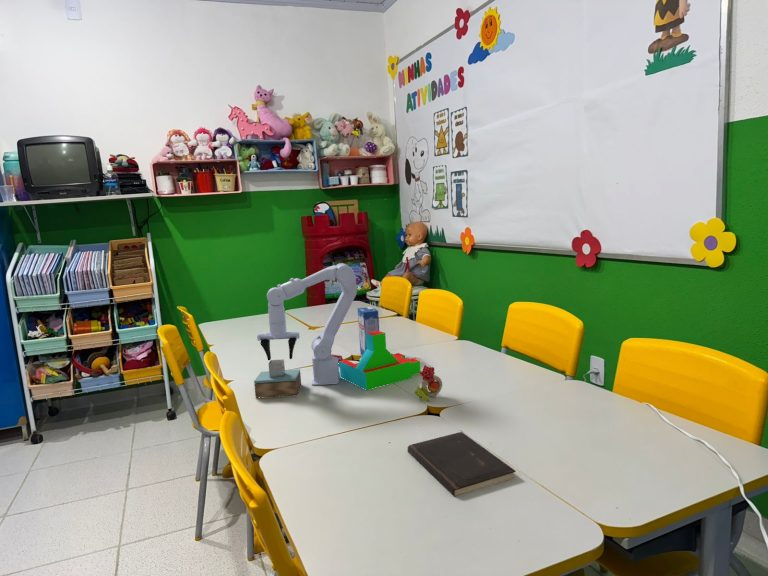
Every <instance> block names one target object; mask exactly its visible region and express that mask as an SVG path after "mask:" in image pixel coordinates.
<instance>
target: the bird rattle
mask: <svg viewBox="0 0 768 576" xmlns="http://www.w3.org/2000/svg"><path fill="white" fill-rule="evenodd" d="M435 374H436V372H435V367H433V366H431V367H430V366H427V365H424V366H423V367H422V370H421V372H420V373H419V376H420V377H421V379H422V383H421V386H420V385H417V387H416V389H415V391H414V392H413V393H414V395H415V396H416V397H418V399H419V400H422V401H423V402H427V401H428V402H430V398H429V397H434V398H437V397H438V394H439V393H440V392H441V390H442V388H443V382H442V379H441V378H440V377H439V376H438V375H435Z"/></svg>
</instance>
